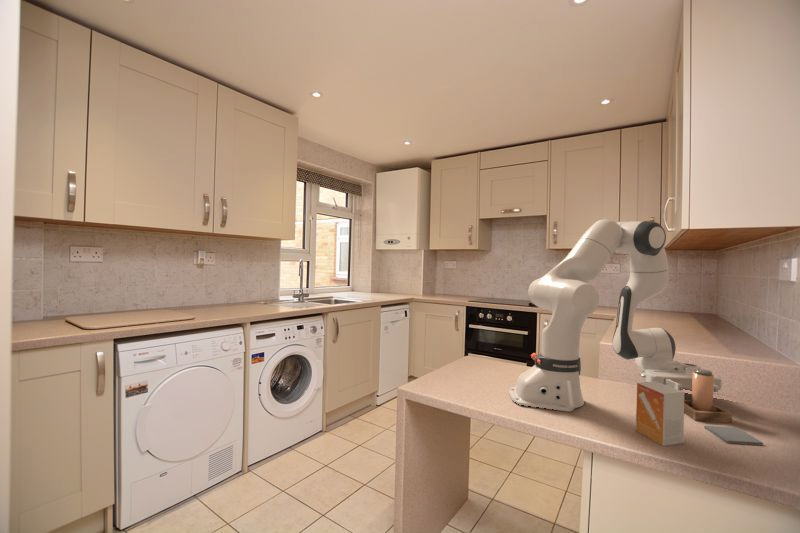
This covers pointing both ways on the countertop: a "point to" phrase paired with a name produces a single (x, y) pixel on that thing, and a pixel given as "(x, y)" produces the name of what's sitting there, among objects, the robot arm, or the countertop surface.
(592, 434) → the countertop surface
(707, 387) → the jar
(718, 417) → the brown wooden square tray
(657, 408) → the small box
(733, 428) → the mat
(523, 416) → the countertop surface
